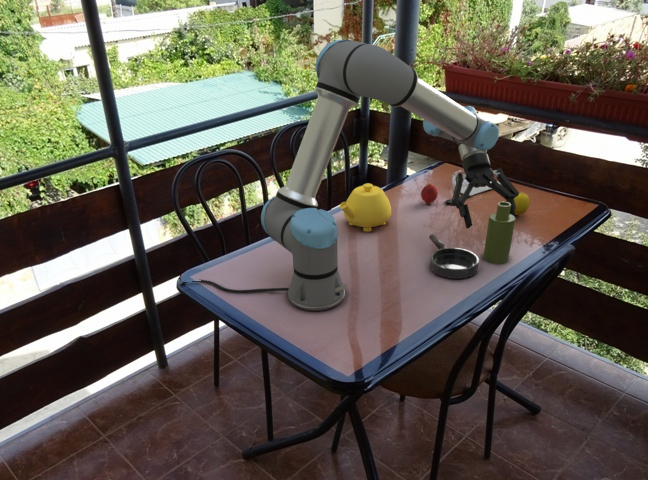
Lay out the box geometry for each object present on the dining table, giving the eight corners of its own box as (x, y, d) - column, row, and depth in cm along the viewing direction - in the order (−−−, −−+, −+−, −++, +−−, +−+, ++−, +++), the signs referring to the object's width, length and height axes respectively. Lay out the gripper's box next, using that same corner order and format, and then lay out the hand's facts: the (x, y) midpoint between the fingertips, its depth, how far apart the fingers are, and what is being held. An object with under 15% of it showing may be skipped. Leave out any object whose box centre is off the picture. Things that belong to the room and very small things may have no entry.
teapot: (357, 242, 176) (358, 202, 168) (324, 227, 186) (323, 189, 179) (400, 223, 186) (402, 184, 178) (366, 210, 196) (367, 172, 189)
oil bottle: (490, 265, 159) (499, 210, 150) (479, 254, 165) (487, 200, 156) (512, 262, 160) (522, 207, 151) (500, 251, 166) (509, 197, 156)
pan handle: (441, 253, 164) (442, 248, 163) (428, 238, 172) (428, 233, 171) (447, 252, 164) (447, 247, 163) (433, 238, 172) (434, 232, 171)
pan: (440, 283, 153) (441, 272, 151) (422, 260, 164) (423, 251, 162) (485, 276, 154) (487, 266, 153) (464, 254, 165) (466, 245, 164)
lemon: (528, 213, 186) (532, 190, 182) (524, 219, 182) (529, 197, 178) (511, 210, 189) (515, 188, 185) (507, 216, 185) (511, 194, 181)
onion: (438, 206, 195) (440, 184, 191) (422, 207, 196) (423, 185, 191) (435, 200, 200) (436, 178, 196) (418, 200, 200) (420, 179, 196)
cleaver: (430, 197, 202) (451, 205, 195) (430, 195, 202) (451, 204, 195) (484, 178, 215) (506, 185, 208) (485, 176, 215) (506, 183, 207)
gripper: (507, 158, 171) (525, 222, 167) (430, 167, 168) (446, 233, 164) (519, 146, 164) (538, 213, 160) (439, 156, 161) (455, 224, 157)
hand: (491, 223), depth 162 cm, fingers open, 13 cm apart
